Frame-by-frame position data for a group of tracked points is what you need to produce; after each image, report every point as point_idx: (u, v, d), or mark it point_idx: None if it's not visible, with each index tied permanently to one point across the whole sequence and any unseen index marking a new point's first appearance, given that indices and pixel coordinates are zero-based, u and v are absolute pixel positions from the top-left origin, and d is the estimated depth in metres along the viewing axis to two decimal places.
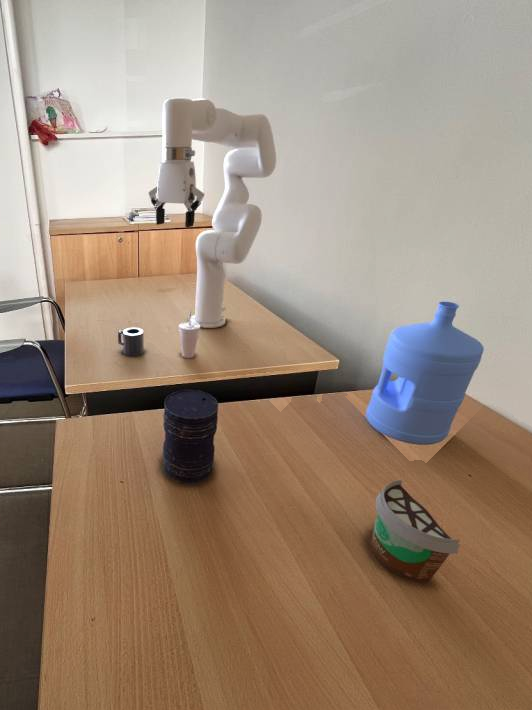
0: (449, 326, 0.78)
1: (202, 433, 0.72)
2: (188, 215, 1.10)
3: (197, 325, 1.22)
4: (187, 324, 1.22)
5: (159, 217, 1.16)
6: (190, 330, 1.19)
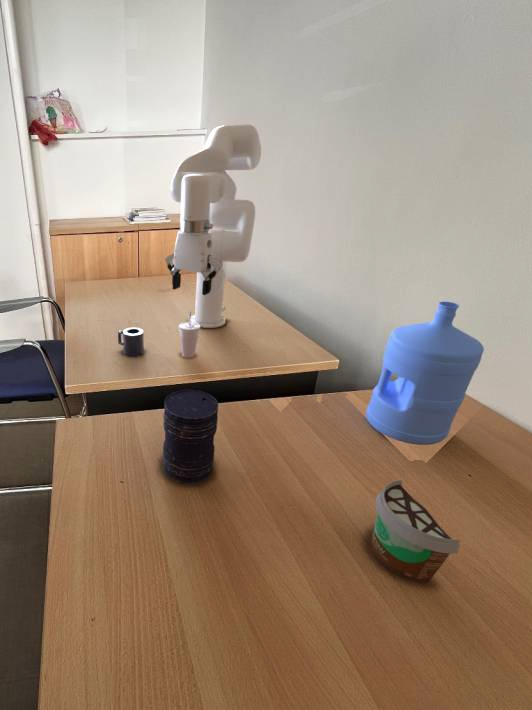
0: (449, 326, 0.78)
1: (202, 433, 0.72)
2: (205, 284, 1.11)
3: (197, 325, 1.22)
4: (187, 324, 1.22)
5: (175, 282, 1.17)
6: (190, 330, 1.19)
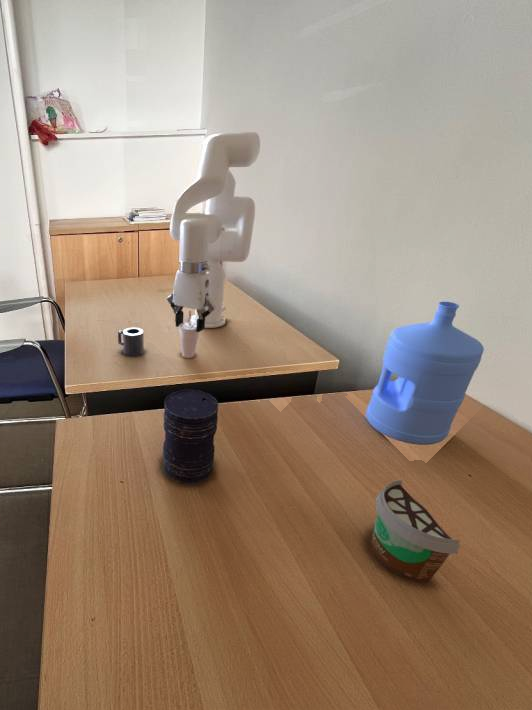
0: (449, 326, 0.78)
1: (202, 433, 0.72)
2: (199, 322, 1.17)
3: None
4: (187, 324, 1.22)
5: (178, 320, 1.22)
6: (190, 330, 1.19)
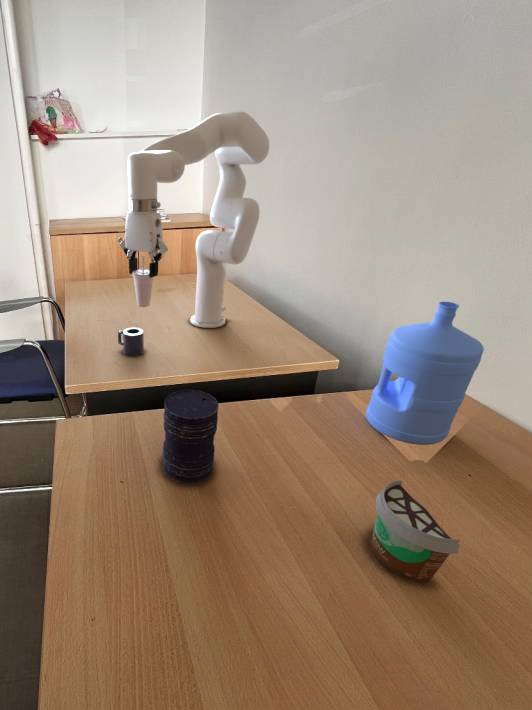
0: (449, 326, 0.78)
1: (202, 433, 0.72)
2: (152, 266, 1.12)
3: None
4: (141, 270, 1.16)
5: (132, 267, 1.17)
6: (143, 275, 1.14)
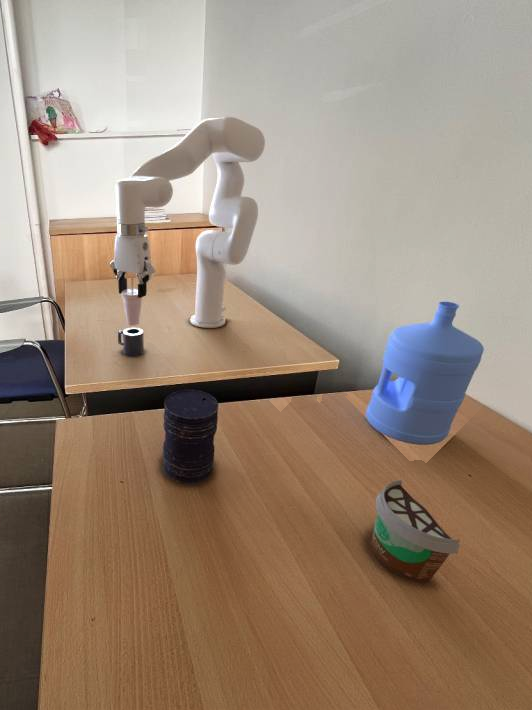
0: (449, 326, 0.78)
1: (202, 433, 0.72)
2: (140, 287, 1.15)
3: None
4: (130, 290, 1.20)
5: (121, 287, 1.20)
6: (132, 296, 1.17)
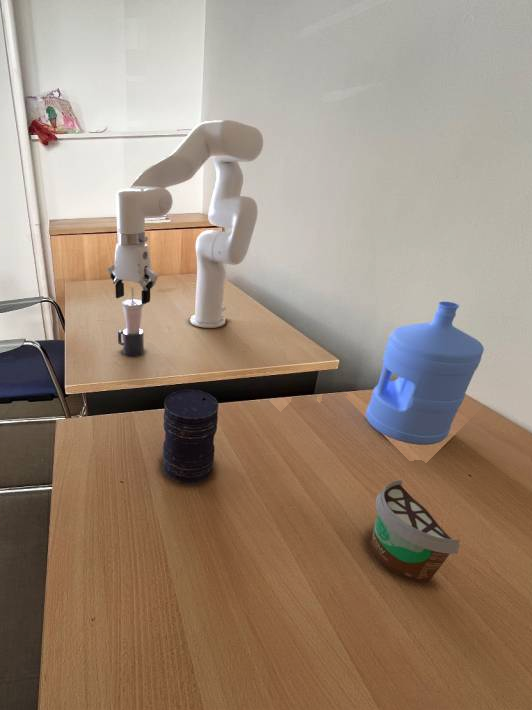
0: (449, 326, 0.78)
1: (202, 433, 0.72)
2: (144, 293, 1.16)
3: (140, 301, 1.22)
4: (130, 301, 1.22)
5: (118, 291, 1.22)
6: (132, 306, 1.19)
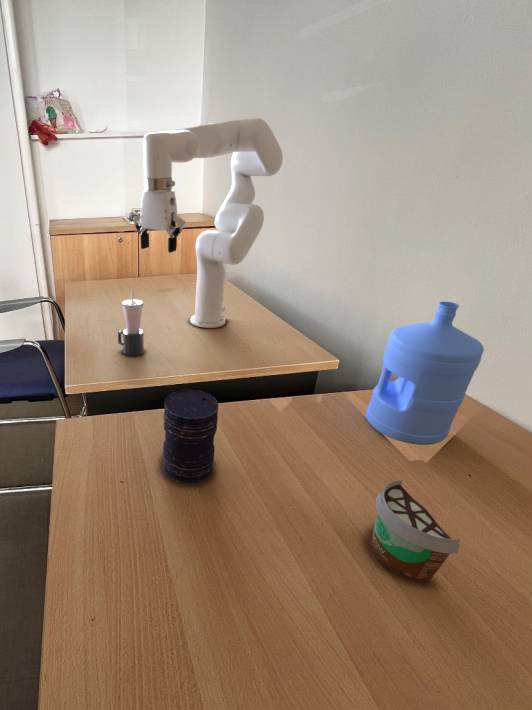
0: (449, 326, 0.78)
1: (202, 433, 0.72)
2: (170, 241, 1.15)
3: (140, 301, 1.22)
4: (130, 301, 1.22)
5: (143, 242, 1.21)
6: (132, 306, 1.19)
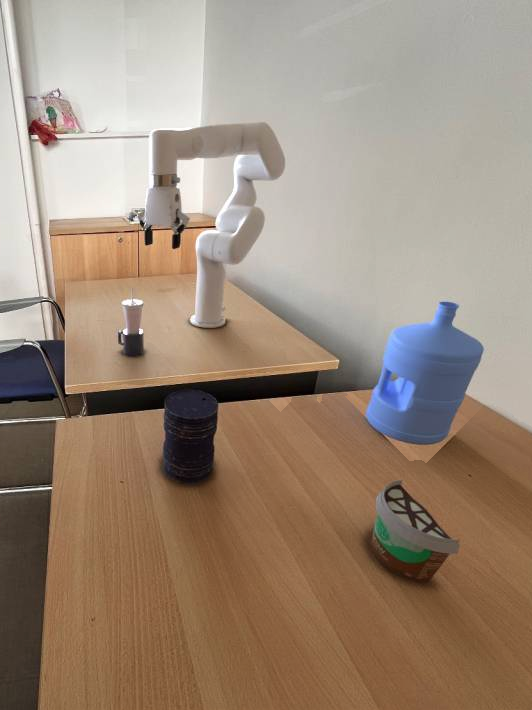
0: (449, 326, 0.78)
1: (202, 433, 0.72)
2: (174, 238, 1.16)
3: (140, 301, 1.22)
4: (130, 301, 1.22)
5: (147, 238, 1.22)
6: (132, 306, 1.19)
